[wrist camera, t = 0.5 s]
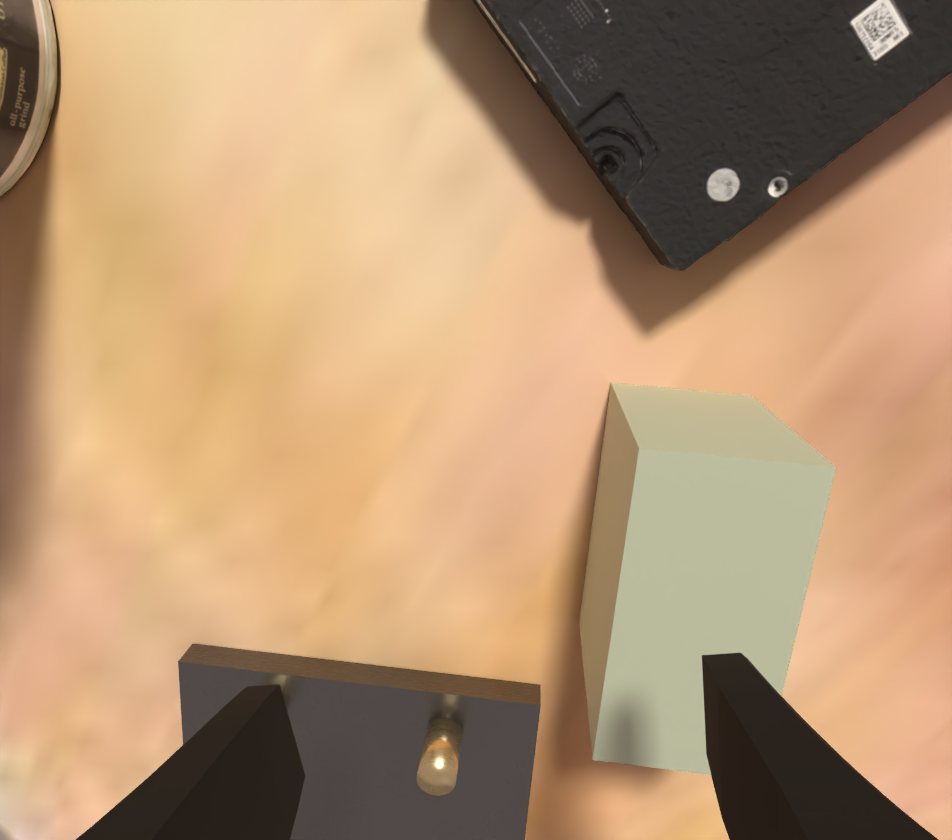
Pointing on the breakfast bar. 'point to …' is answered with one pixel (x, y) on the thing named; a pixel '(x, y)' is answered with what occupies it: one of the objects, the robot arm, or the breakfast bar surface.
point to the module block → (691, 562)
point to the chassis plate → (386, 743)
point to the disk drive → (719, 96)
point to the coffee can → (25, 83)
